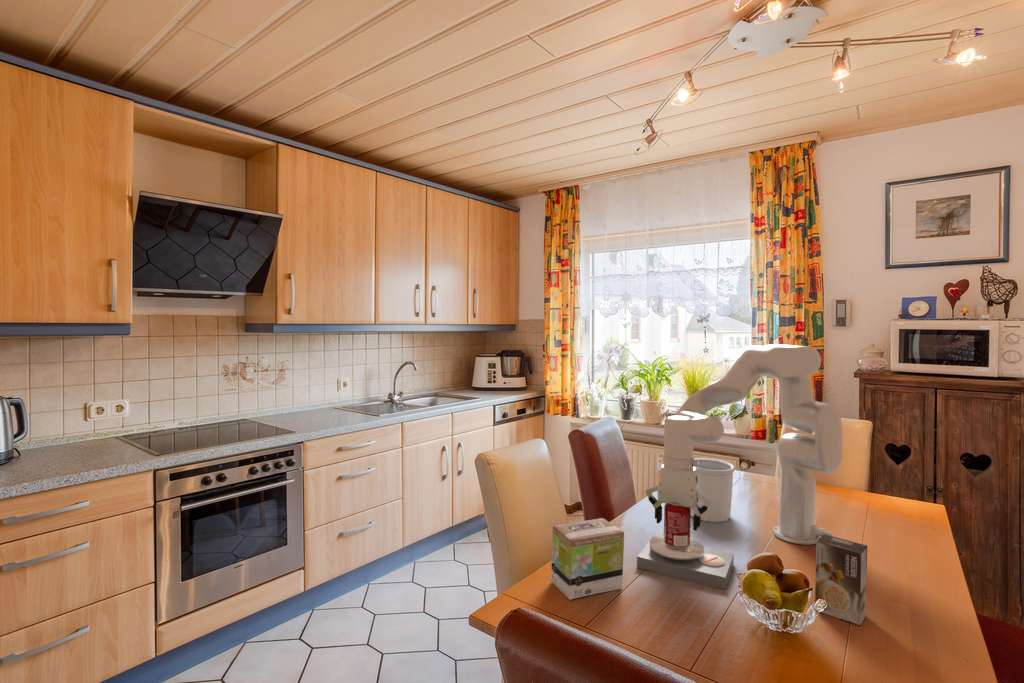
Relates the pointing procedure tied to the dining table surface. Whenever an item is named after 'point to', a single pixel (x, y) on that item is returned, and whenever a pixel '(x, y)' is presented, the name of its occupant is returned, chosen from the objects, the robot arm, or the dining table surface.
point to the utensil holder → (715, 488)
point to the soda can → (677, 525)
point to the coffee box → (841, 578)
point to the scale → (690, 566)
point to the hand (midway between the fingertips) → (677, 525)
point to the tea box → (587, 557)
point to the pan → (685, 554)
